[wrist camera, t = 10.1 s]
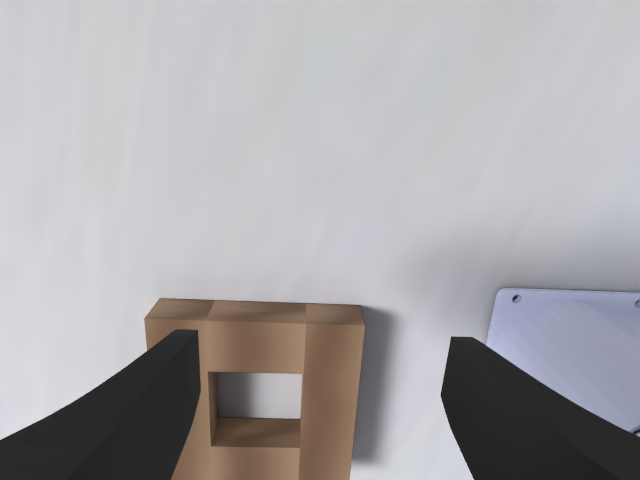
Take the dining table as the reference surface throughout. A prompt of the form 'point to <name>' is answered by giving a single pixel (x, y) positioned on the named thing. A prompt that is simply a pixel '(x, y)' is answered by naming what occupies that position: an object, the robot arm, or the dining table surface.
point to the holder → (270, 357)
